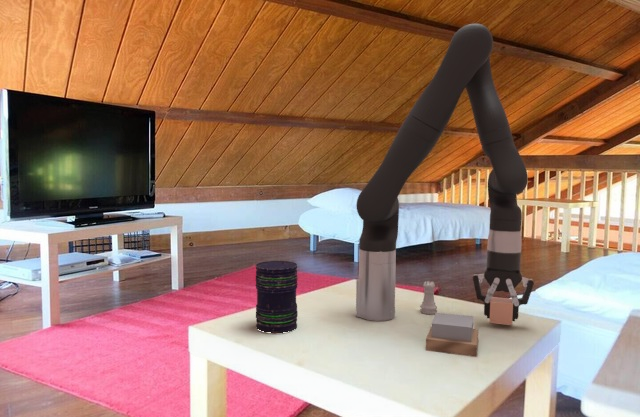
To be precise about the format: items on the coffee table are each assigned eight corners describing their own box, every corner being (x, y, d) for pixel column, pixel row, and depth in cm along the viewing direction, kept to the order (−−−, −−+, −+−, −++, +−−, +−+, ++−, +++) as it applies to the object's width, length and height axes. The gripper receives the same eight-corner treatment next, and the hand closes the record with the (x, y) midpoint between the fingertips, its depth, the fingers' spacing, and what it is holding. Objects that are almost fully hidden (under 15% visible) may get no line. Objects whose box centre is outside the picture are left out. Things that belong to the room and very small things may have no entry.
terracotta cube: (489, 322, 114) (490, 301, 114) (489, 316, 119) (490, 296, 118) (512, 325, 112) (513, 304, 112) (511, 319, 117) (512, 298, 117)
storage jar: (283, 336, 108) (283, 270, 106) (247, 329, 112) (246, 266, 111) (305, 324, 116) (305, 263, 115) (270, 318, 121) (270, 259, 120)
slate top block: (431, 337, 101) (431, 323, 100) (435, 325, 108) (436, 312, 108) (471, 341, 98) (471, 327, 98) (473, 329, 106) (473, 316, 105)
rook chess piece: (437, 315, 124) (438, 284, 123) (419, 314, 125) (420, 283, 124) (436, 310, 128) (437, 280, 127) (419, 309, 129) (420, 280, 128)
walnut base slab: (425, 352, 100) (426, 338, 100) (431, 337, 109) (432, 324, 109) (476, 359, 97) (476, 345, 96) (478, 342, 106) (478, 329, 106)
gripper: (471, 249, 113) (468, 319, 115) (538, 253, 108) (534, 327, 110) (473, 244, 120) (470, 311, 122) (535, 248, 115) (532, 318, 117)
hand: (500, 318), depth 116 cm, fingers closed on terracotta cube, 5 cm apart
